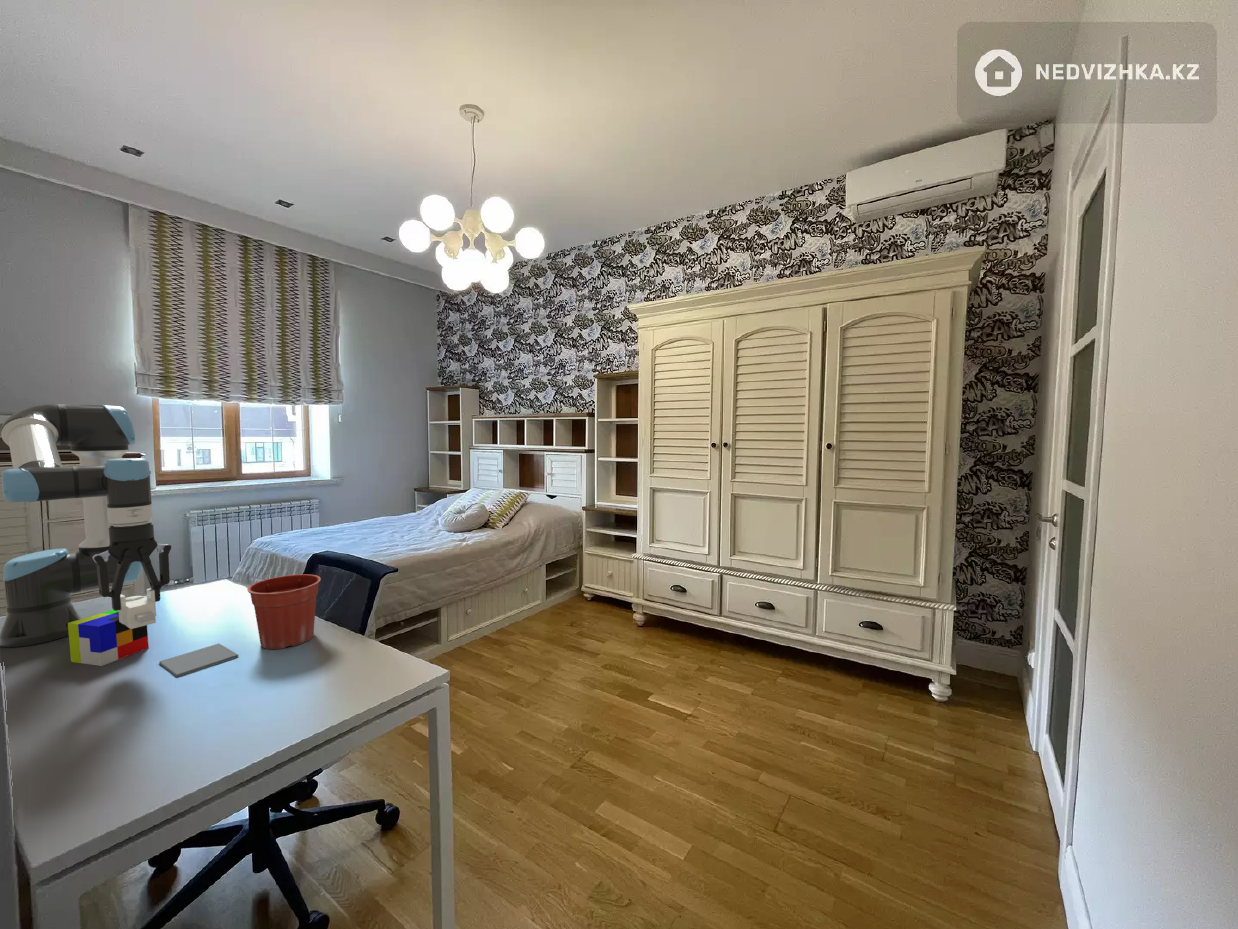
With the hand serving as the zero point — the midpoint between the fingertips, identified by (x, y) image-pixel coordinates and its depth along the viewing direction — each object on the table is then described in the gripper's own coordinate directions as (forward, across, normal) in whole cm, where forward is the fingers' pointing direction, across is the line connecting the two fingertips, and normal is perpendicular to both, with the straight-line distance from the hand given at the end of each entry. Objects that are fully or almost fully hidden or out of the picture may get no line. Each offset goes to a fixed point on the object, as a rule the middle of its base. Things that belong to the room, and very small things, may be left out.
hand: (138, 618), depth 117 cm
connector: (+1, 0, 0) cm, 1 cm away
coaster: (+12, +9, -7) cm, 17 cm away
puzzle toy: (+13, -2, +16) cm, 20 cm away
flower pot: (+12, +26, -13) cm, 32 cm away
